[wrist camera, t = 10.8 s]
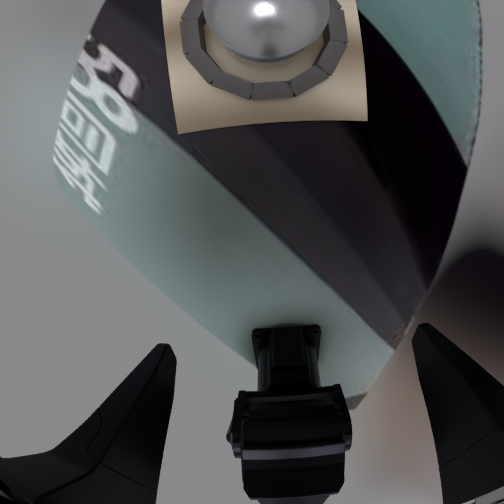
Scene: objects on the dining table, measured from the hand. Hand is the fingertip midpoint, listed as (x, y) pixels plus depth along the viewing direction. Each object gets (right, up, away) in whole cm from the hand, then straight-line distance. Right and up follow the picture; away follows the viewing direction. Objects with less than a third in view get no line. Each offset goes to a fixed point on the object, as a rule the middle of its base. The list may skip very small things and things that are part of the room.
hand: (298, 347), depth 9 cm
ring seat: (-1, +16, +4) cm, 17 cm away
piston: (-1, +16, +3) cm, 16 cm away
